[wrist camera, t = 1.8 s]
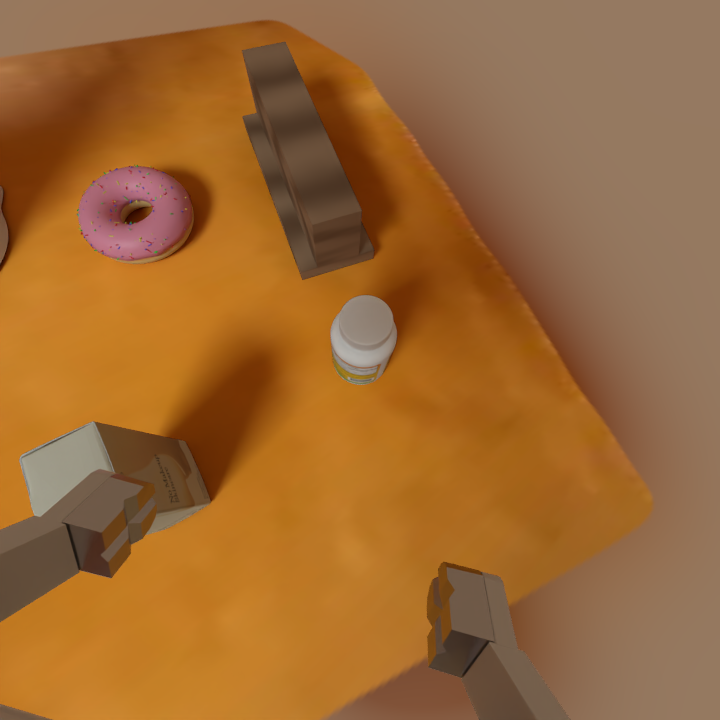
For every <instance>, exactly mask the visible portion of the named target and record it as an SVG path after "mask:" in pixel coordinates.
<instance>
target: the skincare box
mask: <svg viewBox="0 0 720 720" xmlns="http://www.w3.org/2000/svg"><path fill="white" fill-rule="evenodd" d="M19 461H20V464H21V468H22V471H23V475H24V478H25V482H26V486H27V489H28V492H29V497H30V502H31V506H32V510H33V513H34V515H35V516H38V517H41V516H42V515H43V514H44V513H46V512H47V511H48V510H49V509H50V508H51V507H52V506H54V505H55V504H56V503H57V502H58V501H59V500H60V499H62V498H63V497H64V496H65V495H66V494H67V493H69V492H70V491H71V490H72V489H73V488H74V487H75V486H77V485H78V484H79V483H80V482H81V481H82V480H83V479H85V478H86V477H87V476H88V475H89V474H90V473H92V472H93V471H96V470H98V469H103V470H107V471H110V472H114V473H118V474H121V475H124V476H128V477H131V478H134V479H138V480H141V481H145V482H148V483H152V484H154V487H155V494H154V495H153V496H152V499H153V500H154V501H155V502H156V504H157V512H156V517H155V520H154V522H153V524H152V526H151V528H150V529H149V531H148V532H147V533H146V535H147V534H151V533H154V532H158V531H161V530H165V529H167V528H169V527H171V526H173V525H175V524H176V523H178V522H180V521H182V520H184V519H186V518H187V517H189V516H191V515H193V514H194V513H196V512H198V511H199V510H201V509H203V508H204V507H206V506H207V505H209V504H210V503H211V500H210V497H209V495H208V492H207V489H206V487H205V484H204V482H203V479H202V477H201V474H200V472H199V470H198V467H197V465H196V463H195V461H194V459H193V456H192V454H191V452H190V450H189V448H188V446H187V444H186V442H185V441H182V440H177V439H172V438H168V437H163V436H159V435H154V434H149V433H144V432H140V431H135V430H131V429H126V428H121V427H116V426H112V425H107V424H102V423H98V422H90V423H88V424H86V425H84V426H82V427H80V428H77V429H75V430H73V431H71V432H69V433H66V434H64V435H62V436H60V437H58V438H56V439H54V440H51V441H49V442H47V443H45V444H43V445H41V446H39V447H37V448H35V449H33V450H31V451H28V452H26V453H24V454H23V455H21V457H20V460H19Z"/></svg>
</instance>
